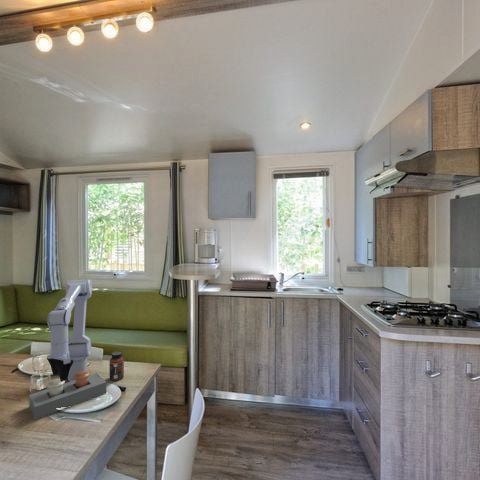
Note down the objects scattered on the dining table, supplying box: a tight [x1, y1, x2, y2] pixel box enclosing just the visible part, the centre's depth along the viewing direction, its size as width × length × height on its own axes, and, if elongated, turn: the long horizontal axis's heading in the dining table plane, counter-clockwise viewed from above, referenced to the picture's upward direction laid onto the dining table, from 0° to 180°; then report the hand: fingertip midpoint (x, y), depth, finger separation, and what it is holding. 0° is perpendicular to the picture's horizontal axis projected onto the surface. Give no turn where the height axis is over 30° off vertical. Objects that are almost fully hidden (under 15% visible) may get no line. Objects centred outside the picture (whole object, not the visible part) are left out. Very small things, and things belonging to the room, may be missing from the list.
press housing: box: [28, 372, 107, 421], centre depth 113 cm, size 24×11×4 cm, turn 135°
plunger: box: [46, 378, 66, 397], centre depth 110 cm, size 6×6×4 cm
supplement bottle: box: [109, 351, 125, 382], centre depth 130 cm, size 6×6×11 cm
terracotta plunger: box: [73, 370, 91, 388], centre depth 116 cm, size 6×6×4 cm
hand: (60, 377), depth 110 cm, fingers open, 7 cm apart
